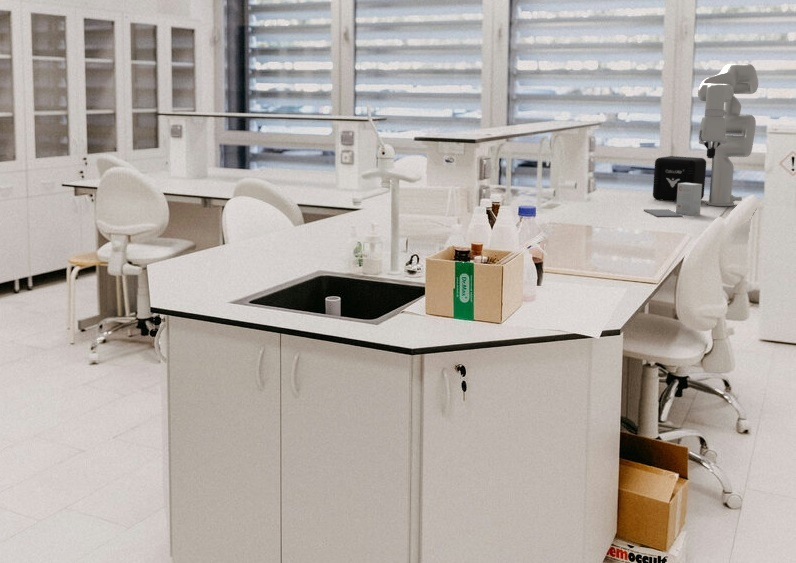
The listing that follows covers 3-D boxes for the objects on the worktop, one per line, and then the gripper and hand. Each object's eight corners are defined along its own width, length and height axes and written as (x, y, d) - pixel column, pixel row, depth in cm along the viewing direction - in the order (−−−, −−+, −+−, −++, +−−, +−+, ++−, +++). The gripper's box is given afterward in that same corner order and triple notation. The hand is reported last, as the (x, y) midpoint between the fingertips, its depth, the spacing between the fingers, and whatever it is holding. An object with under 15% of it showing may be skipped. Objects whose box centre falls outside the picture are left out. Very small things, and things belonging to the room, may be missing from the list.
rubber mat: (668, 210, 401) (668, 209, 401) (682, 216, 384) (682, 215, 384) (643, 210, 401) (643, 209, 401) (656, 217, 383) (656, 215, 383)
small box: (700, 214, 392) (702, 184, 389) (691, 215, 388) (693, 185, 385) (684, 212, 398) (686, 182, 395) (675, 213, 394) (677, 183, 391)
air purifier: (650, 199, 438) (653, 157, 434) (663, 196, 449) (666, 155, 445) (691, 203, 425) (694, 160, 421) (703, 200, 436) (706, 158, 432)
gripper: (728, 114, 388) (724, 157, 392) (693, 113, 387) (690, 157, 391) (735, 114, 381) (731, 159, 384) (699, 114, 380) (696, 158, 384)
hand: (710, 158), depth 388 cm, fingers closed
